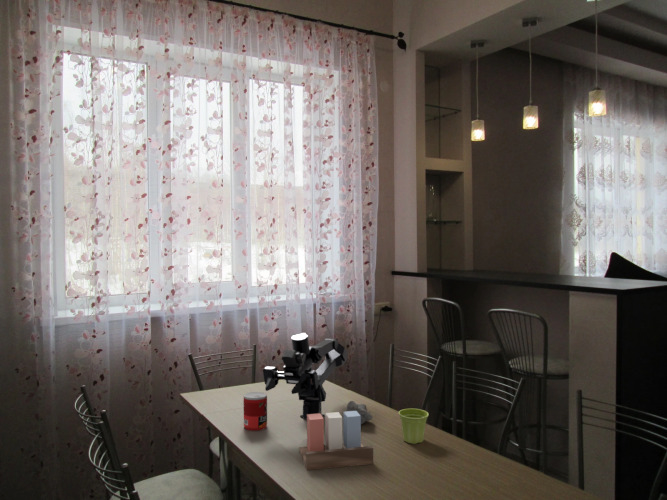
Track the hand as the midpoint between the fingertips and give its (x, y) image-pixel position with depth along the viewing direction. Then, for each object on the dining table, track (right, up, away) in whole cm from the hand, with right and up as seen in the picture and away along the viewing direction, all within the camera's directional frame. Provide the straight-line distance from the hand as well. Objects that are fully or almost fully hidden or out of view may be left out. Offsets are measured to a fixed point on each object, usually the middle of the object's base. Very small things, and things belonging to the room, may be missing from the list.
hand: (278, 390), depth 168 cm
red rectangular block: (+12, -14, -12) cm, 22 cm away
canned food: (-9, -16, +14) cm, 23 cm away
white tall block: (+17, -14, -11) cm, 25 cm away
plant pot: (+42, -16, +1) cm, 45 cm away
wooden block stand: (+18, -16, -13) cm, 27 cm away
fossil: (+26, -16, +17) cm, 35 cm away
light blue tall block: (+23, -14, -10) cm, 28 cm away
